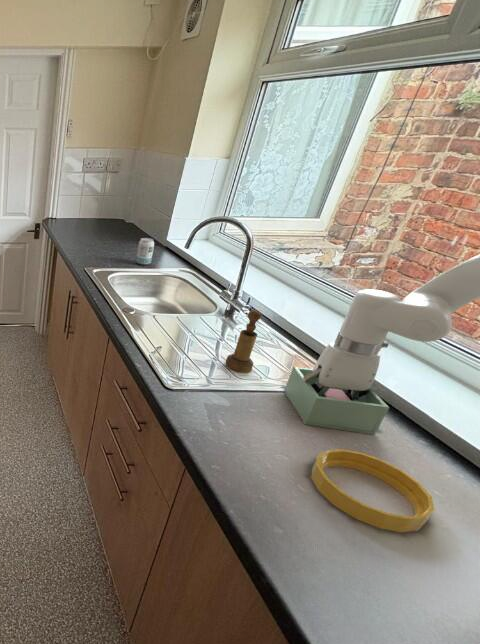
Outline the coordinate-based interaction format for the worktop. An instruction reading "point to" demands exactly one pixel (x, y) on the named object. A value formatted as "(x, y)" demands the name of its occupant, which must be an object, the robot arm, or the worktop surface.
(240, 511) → the worktop surface
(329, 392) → the pink toy cube
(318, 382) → the robot arm
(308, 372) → the bin
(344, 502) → the yellow bangle
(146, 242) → the beverage can
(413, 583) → the worktop surface
